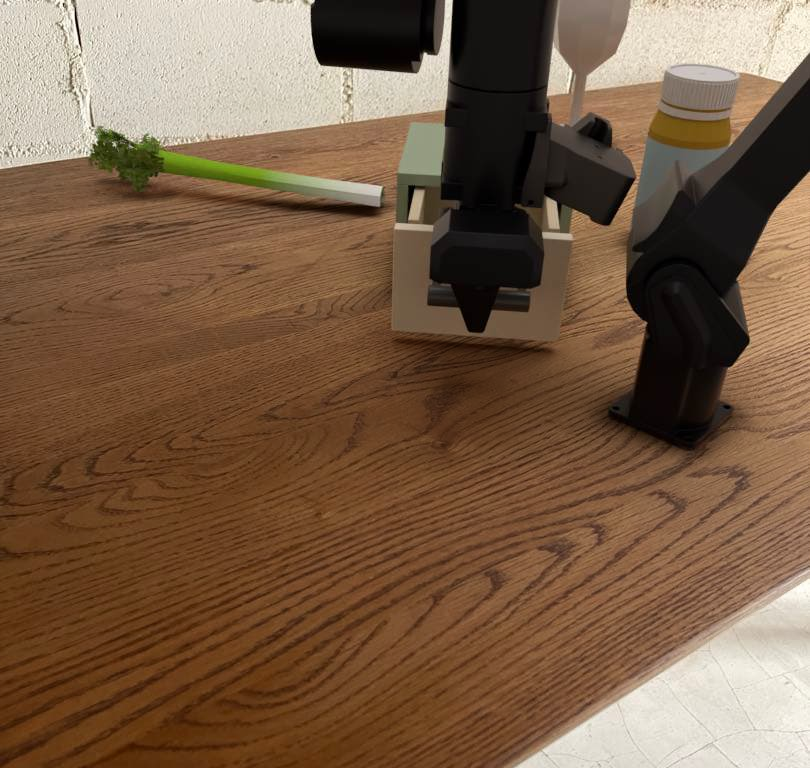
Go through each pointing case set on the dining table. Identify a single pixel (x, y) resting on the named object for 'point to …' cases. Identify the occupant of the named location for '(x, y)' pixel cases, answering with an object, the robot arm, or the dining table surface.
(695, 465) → the dining table surface
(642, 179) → the bottle
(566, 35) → the wineglass
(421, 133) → the cabinet
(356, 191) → the leek
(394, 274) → the drawer
